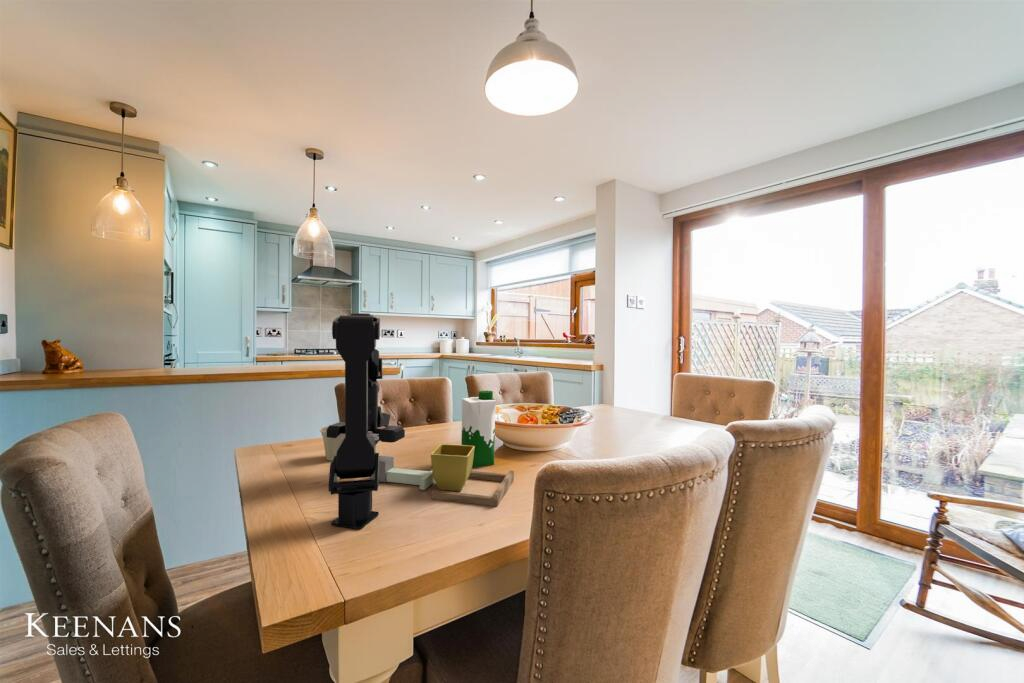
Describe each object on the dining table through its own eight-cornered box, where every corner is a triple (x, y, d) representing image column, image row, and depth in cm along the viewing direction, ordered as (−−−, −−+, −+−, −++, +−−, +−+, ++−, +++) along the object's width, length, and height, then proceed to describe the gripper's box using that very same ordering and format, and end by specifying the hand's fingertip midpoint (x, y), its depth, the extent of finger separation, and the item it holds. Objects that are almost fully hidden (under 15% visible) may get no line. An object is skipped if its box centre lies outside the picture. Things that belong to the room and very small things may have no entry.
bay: (497, 506, 87) (497, 494, 87) (431, 498, 90) (431, 487, 90) (513, 480, 102) (513, 470, 102) (456, 475, 105) (456, 465, 105)
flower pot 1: (322, 454, 121) (322, 425, 121) (356, 452, 124) (356, 423, 124) (317, 464, 112) (317, 432, 112) (354, 461, 115) (354, 430, 115)
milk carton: (498, 465, 114) (499, 393, 113) (467, 469, 110) (468, 395, 110) (486, 456, 122) (487, 389, 121) (457, 459, 118) (458, 390, 118)
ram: (424, 490, 95) (424, 468, 95) (365, 483, 98) (365, 462, 98) (438, 478, 103) (438, 458, 102) (383, 472, 106) (383, 453, 106)
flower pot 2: (474, 481, 101) (475, 445, 101) (467, 495, 93) (468, 455, 92) (440, 479, 102) (440, 443, 102) (429, 493, 94) (429, 454, 93)
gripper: (414, 400, 108) (414, 459, 108) (352, 397, 112) (351, 453, 113) (393, 408, 97) (393, 473, 98) (324, 404, 101) (324, 466, 102)
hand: (365, 466), depth 103 cm, fingers closed
